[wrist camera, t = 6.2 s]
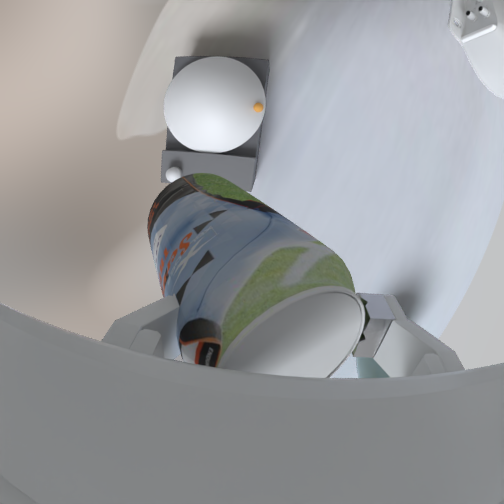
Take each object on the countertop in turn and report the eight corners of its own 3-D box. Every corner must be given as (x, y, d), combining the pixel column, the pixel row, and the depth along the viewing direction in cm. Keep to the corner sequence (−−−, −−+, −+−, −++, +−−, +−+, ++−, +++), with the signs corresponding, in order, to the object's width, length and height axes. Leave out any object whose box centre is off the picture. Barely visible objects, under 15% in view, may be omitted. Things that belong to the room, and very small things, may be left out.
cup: (363, 324, 39) (380, 373, 30) (403, 328, 39) (424, 373, 30) (344, 358, 42) (355, 406, 33) (383, 361, 42) (397, 405, 33)
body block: (186, 65, 25) (166, 53, 19) (271, 69, 25) (271, 55, 19) (175, 172, 31) (155, 183, 25) (257, 180, 31) (253, 194, 25)
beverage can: (142, 177, 15) (86, 309, 4) (264, 162, 16) (411, 247, 6) (159, 271, 18) (168, 445, 7) (266, 253, 19) (361, 393, 9)
